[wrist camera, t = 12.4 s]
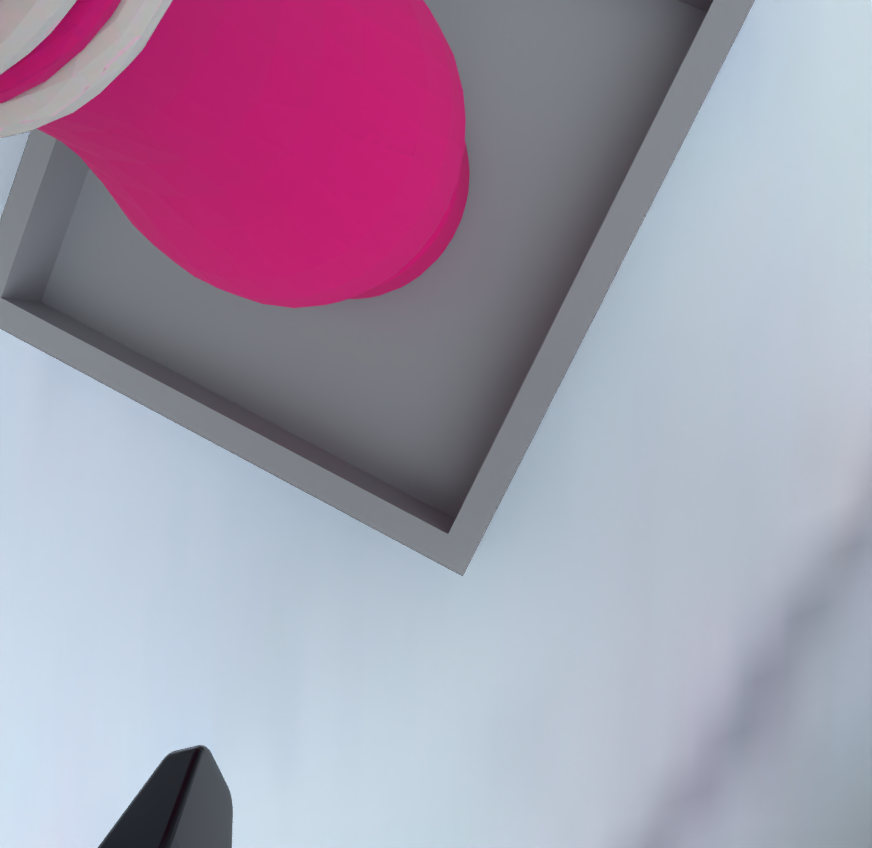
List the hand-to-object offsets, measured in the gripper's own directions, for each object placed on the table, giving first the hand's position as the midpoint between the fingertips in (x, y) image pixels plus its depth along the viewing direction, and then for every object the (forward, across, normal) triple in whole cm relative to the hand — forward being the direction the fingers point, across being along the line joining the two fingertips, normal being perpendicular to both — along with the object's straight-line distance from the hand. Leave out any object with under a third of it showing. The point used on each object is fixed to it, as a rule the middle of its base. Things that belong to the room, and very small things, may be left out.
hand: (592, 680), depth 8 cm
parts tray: (+15, +2, -4) cm, 16 cm away
